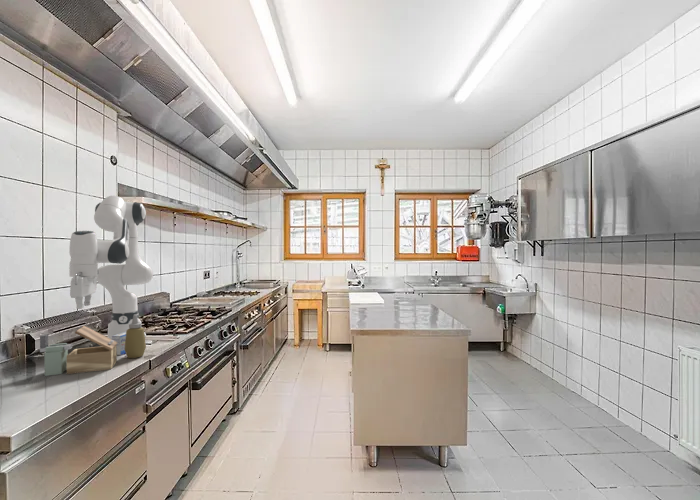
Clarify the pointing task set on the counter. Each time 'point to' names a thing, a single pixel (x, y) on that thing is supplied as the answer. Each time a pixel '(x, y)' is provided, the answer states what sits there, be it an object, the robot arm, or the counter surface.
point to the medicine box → (120, 343)
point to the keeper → (55, 359)
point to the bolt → (45, 344)
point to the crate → (91, 359)
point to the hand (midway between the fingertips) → (83, 307)
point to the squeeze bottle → (135, 339)
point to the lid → (96, 337)
